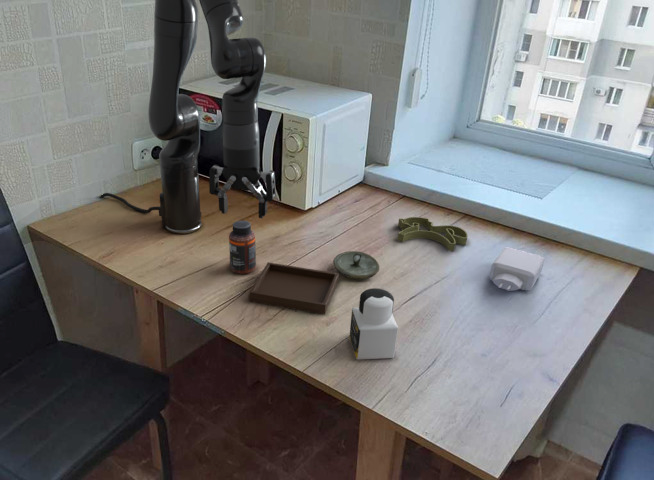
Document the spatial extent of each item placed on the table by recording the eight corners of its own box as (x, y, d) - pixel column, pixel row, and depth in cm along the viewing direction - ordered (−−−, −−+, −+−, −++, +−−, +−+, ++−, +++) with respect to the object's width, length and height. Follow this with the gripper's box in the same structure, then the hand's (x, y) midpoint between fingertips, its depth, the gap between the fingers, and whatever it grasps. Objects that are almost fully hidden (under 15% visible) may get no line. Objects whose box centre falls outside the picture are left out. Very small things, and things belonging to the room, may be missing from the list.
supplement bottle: (257, 262, 143) (257, 218, 137) (254, 275, 138) (253, 230, 132) (232, 261, 144) (230, 217, 138) (228, 274, 138) (226, 229, 133)
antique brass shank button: (350, 261, 147) (346, 242, 145) (387, 263, 141) (384, 244, 139) (327, 281, 140) (323, 261, 138) (366, 285, 134) (362, 264, 132)
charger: (479, 291, 133) (499, 263, 144) (522, 305, 129) (540, 275, 139) (483, 273, 131) (503, 245, 141) (527, 285, 126) (545, 256, 137)
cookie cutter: (389, 239, 154) (390, 232, 153) (400, 220, 163) (401, 213, 162) (462, 253, 148) (464, 246, 147) (469, 233, 157) (471, 226, 156)
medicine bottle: (348, 337, 118) (353, 284, 112) (385, 335, 119) (392, 283, 113) (356, 360, 112) (362, 306, 106) (394, 358, 113) (402, 304, 107)
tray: (249, 301, 129) (249, 292, 128) (267, 270, 140) (267, 262, 139) (324, 314, 125) (325, 305, 124) (338, 282, 136) (338, 273, 135)
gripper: (279, 139, 127) (279, 211, 135) (215, 134, 130) (218, 204, 138) (268, 151, 120) (269, 225, 129) (201, 144, 124) (206, 217, 132)
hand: (243, 214), depth 134 cm, fingers open, 8 cm apart
